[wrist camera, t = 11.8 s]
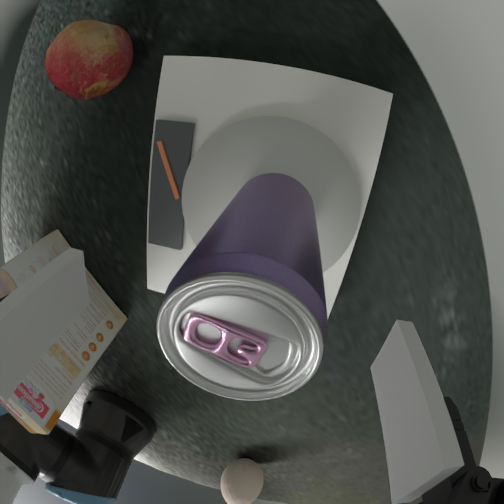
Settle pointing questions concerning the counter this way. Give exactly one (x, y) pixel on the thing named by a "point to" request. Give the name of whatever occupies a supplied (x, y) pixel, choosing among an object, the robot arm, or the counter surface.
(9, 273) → the coffeecake box
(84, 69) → the fruit
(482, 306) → the counter surface
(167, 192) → the scale
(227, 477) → the egg
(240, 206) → the beverage can
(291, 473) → the counter surface
